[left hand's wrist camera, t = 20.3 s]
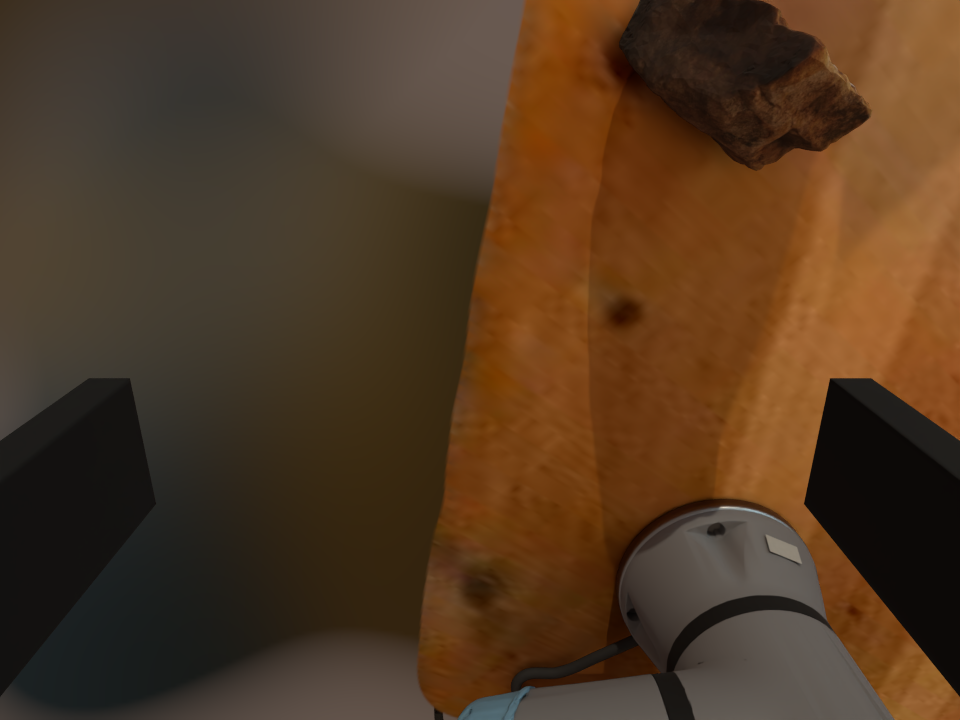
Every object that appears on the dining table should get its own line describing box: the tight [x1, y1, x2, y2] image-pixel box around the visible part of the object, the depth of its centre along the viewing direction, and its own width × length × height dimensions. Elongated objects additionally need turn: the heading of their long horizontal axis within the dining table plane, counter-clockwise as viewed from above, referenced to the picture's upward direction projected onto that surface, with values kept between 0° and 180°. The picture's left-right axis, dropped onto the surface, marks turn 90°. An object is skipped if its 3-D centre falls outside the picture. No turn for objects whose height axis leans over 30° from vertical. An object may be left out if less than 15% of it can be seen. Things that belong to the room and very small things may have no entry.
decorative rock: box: [619, 0, 872, 171], centre depth 35 cm, size 12×6×11 cm, turn 52°
